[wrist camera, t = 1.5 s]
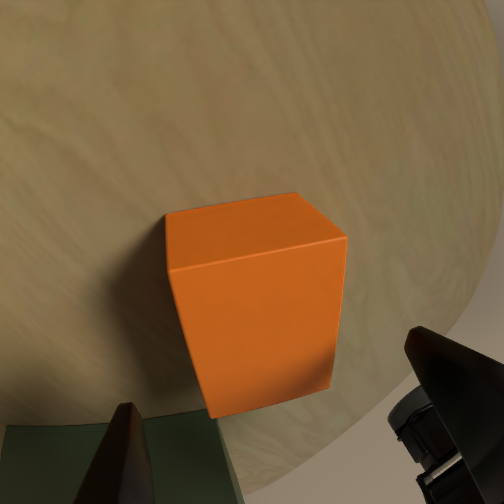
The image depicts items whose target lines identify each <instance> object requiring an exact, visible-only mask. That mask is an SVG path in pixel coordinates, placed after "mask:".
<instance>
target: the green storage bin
mask: <svg viewBox="0 0 504 504" xmlns="http://www.w3.org/2000/svg"><path fill="white" fill-rule="evenodd" d="M143 423H144V429H145V434H146V440H147V445H148V451H149V456H150V461H151V467H152V476H153V487H154V497H155V504H245V503H244V500H243V496H242V493H241V490H240V486H239V483H238V479H237V477H236V474H235V471H234V468H233V465H232V463H231V460H230V457H229V454H228V451H227V448H226V445H225V442H224V439H223V436H222V433H221V430H220V427H219V424H218V421H217V418H215V419H211V418H210V416H209V413H208V410H207V409H205V410H200V411H195V412H189V413H183V414H177V415H171V416H165V417H158V418H151V419H143ZM108 425H109V423H105V424H92V425H76V426H6V432H5V436H4V441H3V446H2V451H1V457H0V504H72V503H73V501H74V499H75V498H76V494H77V492H78V490H79V488H80V485H81V483H82V481H83V479H84V477H85V474H86V472H87V470H88V468H89V466H90V463H91V461H92V459H93V457H94V455H95V453H96V450H97V448H98V446H99V444H100V442H101V440H102V438H103V436H104V434H105V431H106V429H107V427H108Z"/></svg>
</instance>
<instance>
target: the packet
mask: <svg viewBox="0 0 504 504" xmlns="http://www.w3.org/2000/svg"><path fill="white" fill-rule="evenodd" d="M165 236H166V259H167V274H168V278H169V282H170V286H171V290H172V294H173V297H174V301H175V305H176V309H177V312H178V316H179V320H180V323H181V327H182V330H183V334H184V337H185V341H186V344H187V348H188V351H189V354H190V358H191V361H192V364H193V368H194V371H195V374H196V377H197V380H198V383H199V386H200V389H201V393H202V396H203V399H204V402H205V405H206V407H207V410H208V413H209V416H210V418H211V419H215V418H220V417H224V416H229V415H234V414H238V413H242V412H247V411H251V410H255V409H259V408H263V407H267V406H270V405H274V404H278V403H281V402H285V401H288V400H292V399H295V398H299V397H302V396H305V395H309V394H312V393H315V392H318V391H321V390H324V389H327V388H329V387H330V381H331V375H332V369H333V363H334V357H335V350H336V343H337V336H338V329H339V321H340V313H341V305H342V296H343V286H344V277H345V266H346V255H347V242H348V238H347V235H345V234H344V233H343V232H342V231H341V230H340V229H339V228H338V227H336V226H335V225H334V224H333V223H332V222H331V221H329V220H328V219H327V218H326V217H325V216H324V215H323V214H321V213H320V212H319V211H318V210H317V209H315V208H314V207H313V206H312V205H311V204H310V203H308V202H307V201H306V200H305V199H304V198H302V197H301V196H300V195H299V194H298V193H289V194H282V195H275V196H269V197H262V198H256V199H249V200H243V201H237V202H231V203H225V204H219V205H213V206H208V207H202V208H196V209H191V210H185V211H180V212H175V213H169V214H166V215H165Z"/></svg>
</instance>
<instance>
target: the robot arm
mask: <svg viewBox="0 0 504 504" xmlns="http://www.w3.org/2000/svg"><path fill="white" fill-rule="evenodd" d="M404 350H405V353H406V355H407V357H408V359H409V361H410V363H411V365H412V367H413V369H414V372H415V374H416V376H417V378H418V380H419V382H420V384H421V386H422V388H423V390H424V391H425V393H426V395H427V396H428V398H429V400H430V401H431V403H429V404H427V405H426V406H424V407H422V408H420V409H418V410H416V411H415V412H413V413H412V414H411V416H410V418H409V420H408V421H407V423H406V425H405V426H404V428H403V430H402V432H401V433H400V435H399V437H398V438H397V440H398V441H399V442H400V441H402V442H403V444H404V445H405V447H406V448H407V450H408V452H409V453H410V455H411V456H412V458H413V459H414V461H415V462H416V463H419V462H420V464H421V465H422V467H423V468H424V470H425V472H424V473H423V474H420V475H418V476H417V479H416V481H417V483H418V484H419V486H420V488H421V490H422V492H423V495H424V498H425V501H426V504H504V364H502V363H500V362H498V361H496V360H494V359H492V358H489V357H487V356H485V355H483V354H481V353H479V352H476V351H474V350H472V349H470V348H468V347H466V346H463V345H461V344H459V343H457V342H455V341H453V340H450V339H448V338H446V337H444V336H442V335H440V334H437V333H435V332H433V331H431V330H429V329H427V328H424V327H422V326H417V327H415V328H412V329H410V330H409V333H408V336H407V339H406V342H405V345H404ZM460 456H462V459H460V460H459V461H457V462H456V463H455V464H454V465H452V466H451V467H450V468H448V469H447V470H446V471H444V472H443V473H442V474H441V475H439V476H437V477H436V478H435V479H433V476H434V475H436V474H437V473H439V472H440V471H441V470H443V469H444V468H445V467H447V466H448V465H449V464H450V463H452V462H453V461H454V460H456V459H457V458H458V457H460ZM72 504H155V497H154V487H153V476H152V467H151V461H150V456H149V451H148V445H147V440H146V434H145V429H144V423H143V419H142V417H141V415H140V413H139V412H138V410H137V408H136V407H135V405H134V404H133V403H132V402H128V403H121V404H119V405H118V407H117V409H116V411H115V413H114V415H113V417H112V419H111V421H110V423H109V425H108V427H107V429H106V431H105V434H104V436H103V438H102V440H101V442H100V444H99V446H98V448H97V450H96V453H95V455H94V457H93V459H92V461H91V463H90V466H89V468H88V470H87V472H86V474H85V477H84V479H83V481H82V483H81V485H80V488H79V490H78V492H77V494H76V498H75V499H74V501H73V503H72Z"/></svg>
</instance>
